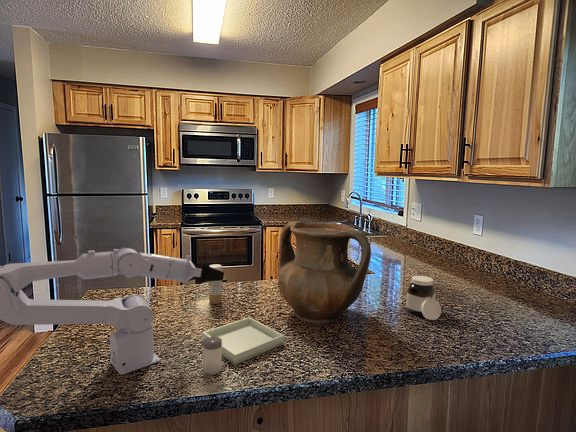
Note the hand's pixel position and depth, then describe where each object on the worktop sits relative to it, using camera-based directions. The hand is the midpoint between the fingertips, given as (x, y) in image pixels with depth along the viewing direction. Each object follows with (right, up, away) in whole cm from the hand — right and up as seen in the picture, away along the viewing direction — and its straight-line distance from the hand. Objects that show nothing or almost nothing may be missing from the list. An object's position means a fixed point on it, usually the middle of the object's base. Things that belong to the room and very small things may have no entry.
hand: (217, 275), depth 96 cm
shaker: (+1, -20, -11) cm, 23 cm away
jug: (+30, -17, +23) cm, 41 cm away
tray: (+7, -19, +2) cm, 20 cm away
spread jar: (+65, -17, +24) cm, 71 cm away
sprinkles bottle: (-7, -15, +31) cm, 36 cm away
